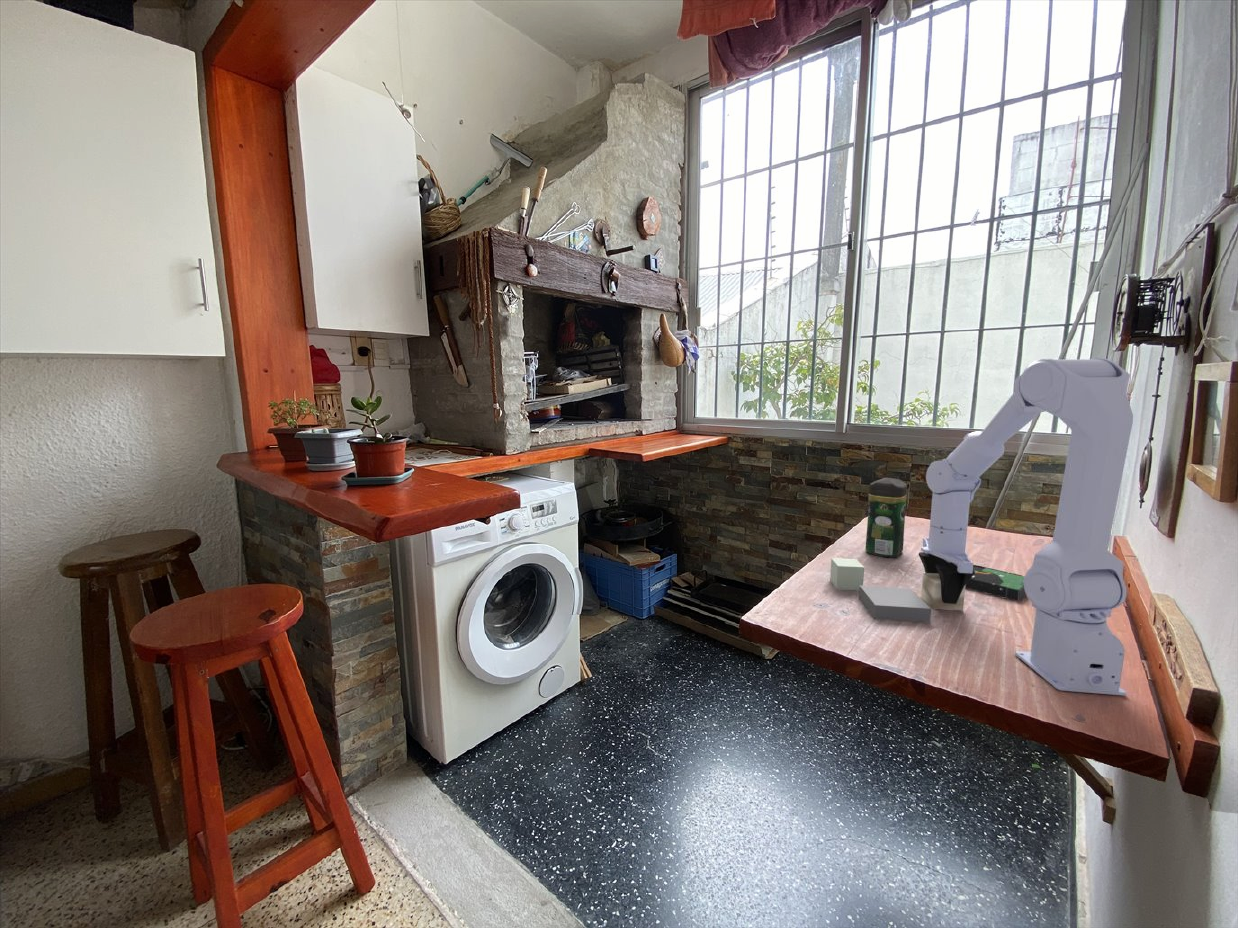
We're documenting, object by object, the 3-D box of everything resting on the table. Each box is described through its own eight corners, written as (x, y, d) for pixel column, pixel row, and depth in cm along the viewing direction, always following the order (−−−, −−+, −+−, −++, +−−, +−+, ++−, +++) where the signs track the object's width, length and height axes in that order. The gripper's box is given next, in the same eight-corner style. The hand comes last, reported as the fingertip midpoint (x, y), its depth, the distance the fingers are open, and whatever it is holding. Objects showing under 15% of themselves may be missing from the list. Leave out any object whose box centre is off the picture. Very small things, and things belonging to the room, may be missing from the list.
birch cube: (963, 610, 89) (965, 584, 88) (933, 608, 90) (935, 582, 89) (949, 599, 94) (951, 574, 93) (921, 597, 95) (923, 572, 94)
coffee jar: (871, 544, 128) (876, 474, 125) (905, 550, 123) (911, 477, 120) (860, 553, 121) (865, 479, 118) (896, 560, 116) (902, 483, 113)
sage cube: (862, 591, 98) (864, 567, 97) (836, 589, 99) (837, 566, 98) (855, 581, 103) (856, 558, 102) (830, 580, 104) (831, 557, 103)
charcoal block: (929, 625, 84) (931, 608, 84) (874, 621, 86) (875, 605, 85) (908, 603, 93) (910, 588, 93) (858, 599, 95) (859, 585, 94)
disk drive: (931, 582, 104) (1019, 603, 92) (932, 569, 104) (1021, 589, 92) (949, 570, 110) (1033, 589, 99) (950, 558, 110) (1034, 576, 99)
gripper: (908, 515, 97) (903, 580, 99) (943, 536, 83) (937, 611, 85) (947, 516, 96) (941, 582, 98) (989, 538, 82) (981, 614, 84)
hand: (942, 596), depth 92 cm, fingers closed on birch cube, 5 cm apart
